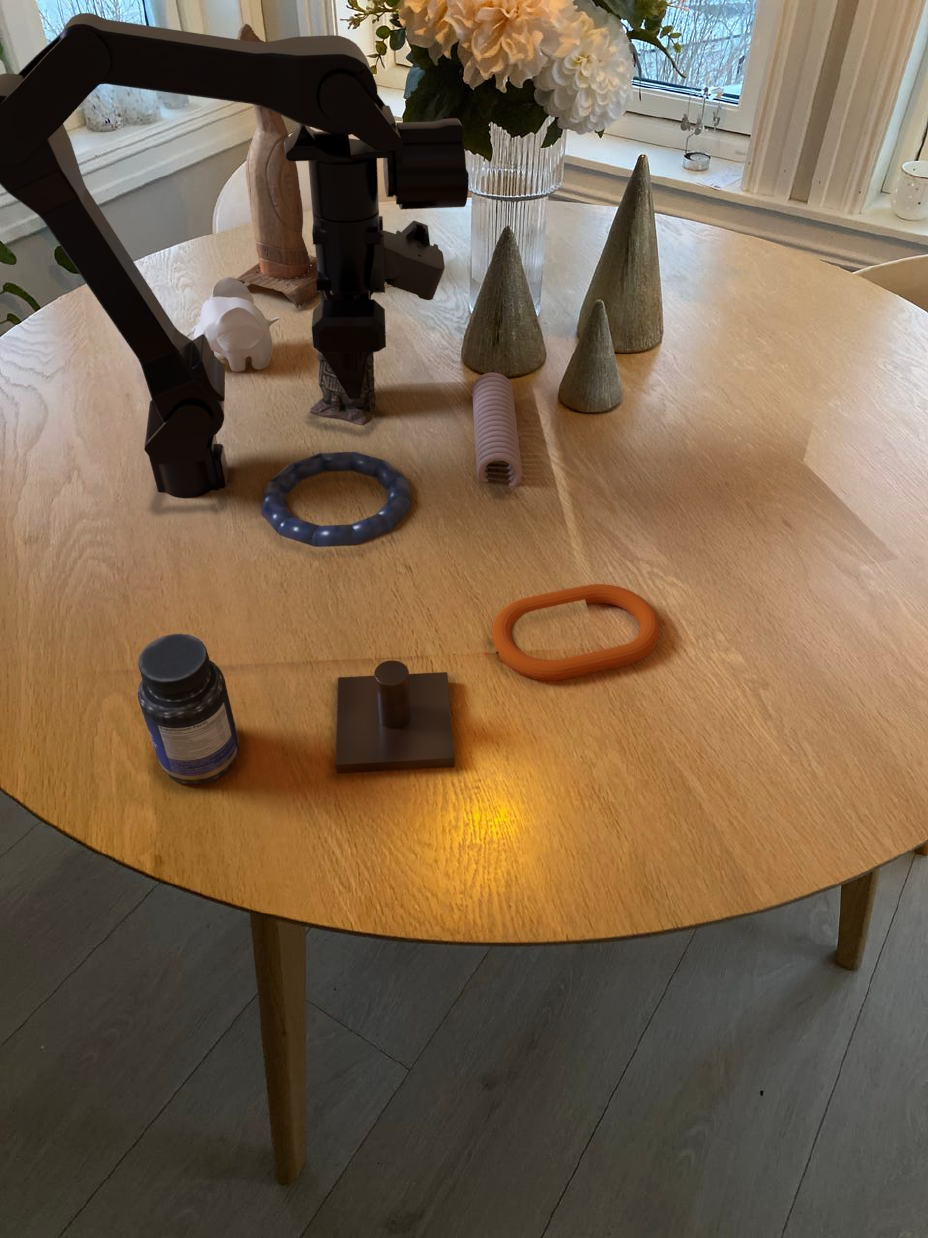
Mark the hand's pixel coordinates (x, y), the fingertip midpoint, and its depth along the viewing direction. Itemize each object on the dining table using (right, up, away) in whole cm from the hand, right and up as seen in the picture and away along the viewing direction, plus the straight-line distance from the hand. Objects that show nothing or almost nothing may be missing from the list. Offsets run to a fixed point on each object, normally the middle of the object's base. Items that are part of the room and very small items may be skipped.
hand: (355, 373), depth 93 cm
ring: (-2, -12, +3) cm, 12 cm away
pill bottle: (-10, -35, -19) cm, 41 cm away
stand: (+5, -32, -17) cm, 37 cm away
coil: (+14, -5, +12) cm, 19 cm away
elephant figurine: (-18, +8, +26) cm, 32 cm away
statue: (-3, 0, +17) cm, 17 cm away
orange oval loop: (+20, -26, -9) cm, 34 cm away
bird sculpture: (-14, +23, +41) cm, 49 cm away
